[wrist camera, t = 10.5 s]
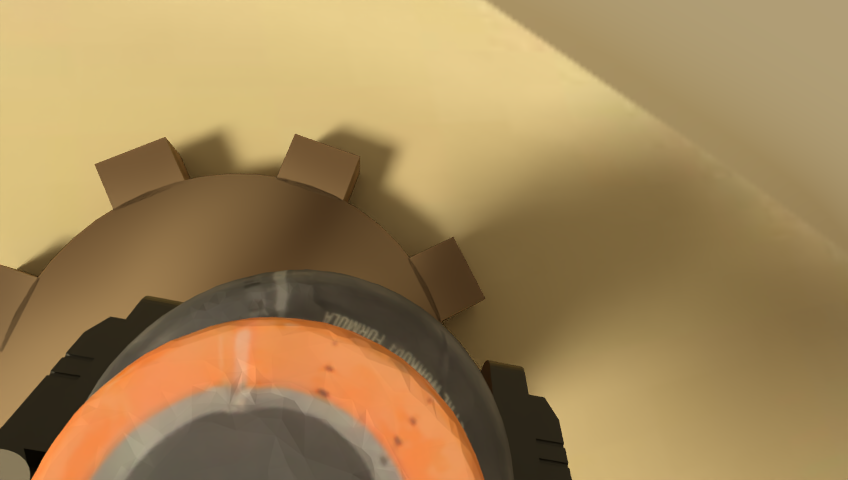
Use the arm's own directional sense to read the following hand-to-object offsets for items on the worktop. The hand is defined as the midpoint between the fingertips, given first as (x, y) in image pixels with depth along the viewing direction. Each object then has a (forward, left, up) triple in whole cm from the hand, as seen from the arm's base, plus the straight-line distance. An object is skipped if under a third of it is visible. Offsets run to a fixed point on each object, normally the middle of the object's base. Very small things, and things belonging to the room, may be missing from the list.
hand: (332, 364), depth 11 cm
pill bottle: (0, +2, -5) cm, 5 cm away
